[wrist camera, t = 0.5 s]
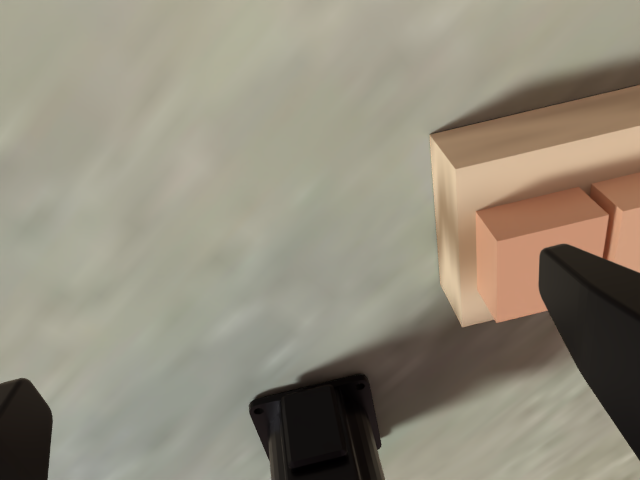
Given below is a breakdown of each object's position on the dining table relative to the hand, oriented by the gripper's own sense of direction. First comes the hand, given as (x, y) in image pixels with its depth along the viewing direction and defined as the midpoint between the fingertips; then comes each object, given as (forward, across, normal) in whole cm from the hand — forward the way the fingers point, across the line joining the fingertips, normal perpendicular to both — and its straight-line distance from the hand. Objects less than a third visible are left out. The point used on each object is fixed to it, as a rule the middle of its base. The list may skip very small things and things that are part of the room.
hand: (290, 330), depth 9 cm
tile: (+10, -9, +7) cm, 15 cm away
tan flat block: (+13, -11, +7) cm, 18 cm away
